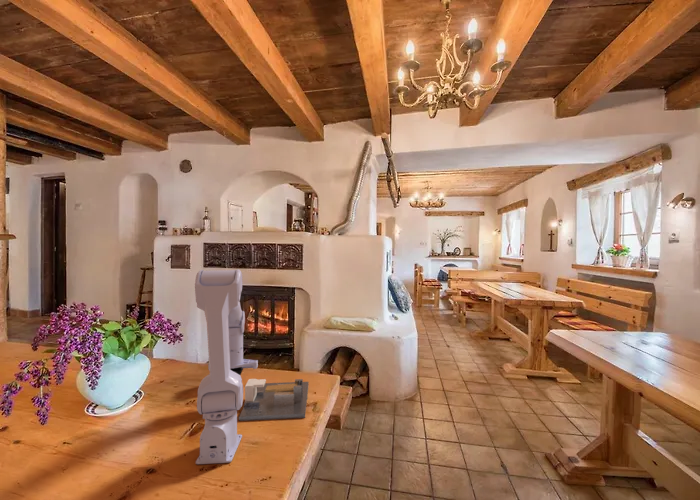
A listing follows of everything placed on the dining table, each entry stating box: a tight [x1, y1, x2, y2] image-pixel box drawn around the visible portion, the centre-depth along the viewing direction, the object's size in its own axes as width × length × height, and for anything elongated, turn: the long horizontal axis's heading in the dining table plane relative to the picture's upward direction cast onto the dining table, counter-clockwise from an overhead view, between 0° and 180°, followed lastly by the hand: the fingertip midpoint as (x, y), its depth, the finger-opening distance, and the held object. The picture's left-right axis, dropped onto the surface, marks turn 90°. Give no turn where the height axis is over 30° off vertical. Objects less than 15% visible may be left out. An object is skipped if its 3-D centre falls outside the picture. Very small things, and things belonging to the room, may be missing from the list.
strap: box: [265, 383, 300, 393], centre depth 94 cm, size 3×10×1 cm, turn 95°
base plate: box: [238, 378, 309, 422], centre depth 94 cm, size 20×19×6 cm
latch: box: [244, 378, 267, 402], centre depth 93 cm, size 5×5×5 cm
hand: (233, 391), depth 92 cm, fingers closed
